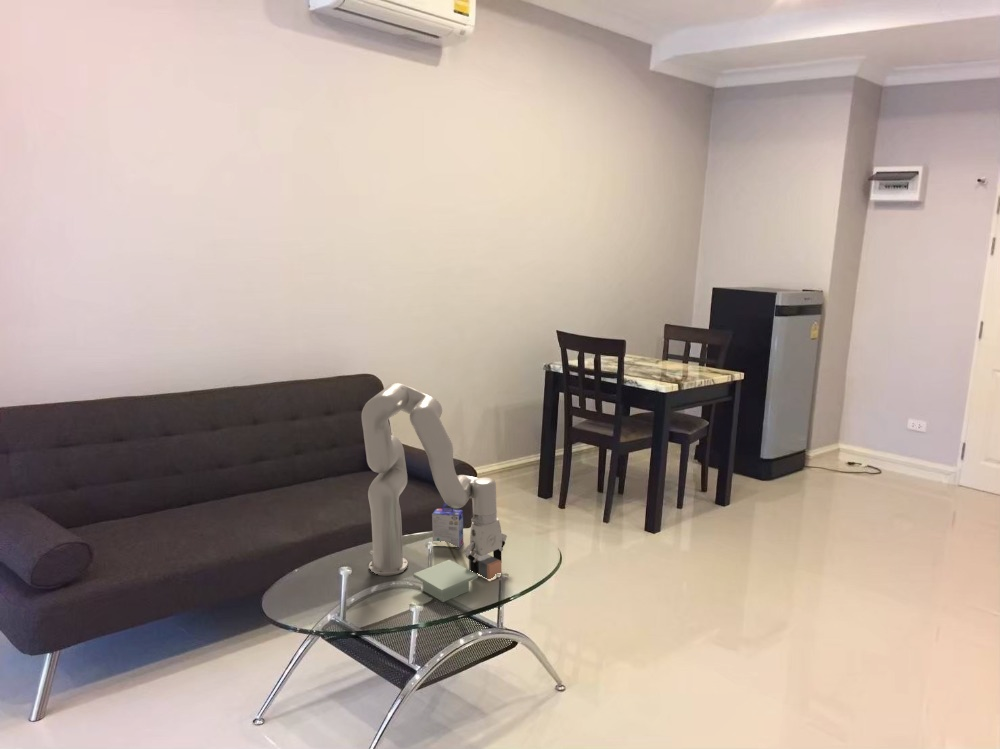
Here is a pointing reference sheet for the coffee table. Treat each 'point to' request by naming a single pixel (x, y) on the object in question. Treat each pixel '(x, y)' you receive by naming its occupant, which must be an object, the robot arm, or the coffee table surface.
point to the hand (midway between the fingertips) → (486, 566)
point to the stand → (445, 580)
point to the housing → (488, 566)
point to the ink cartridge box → (448, 525)
